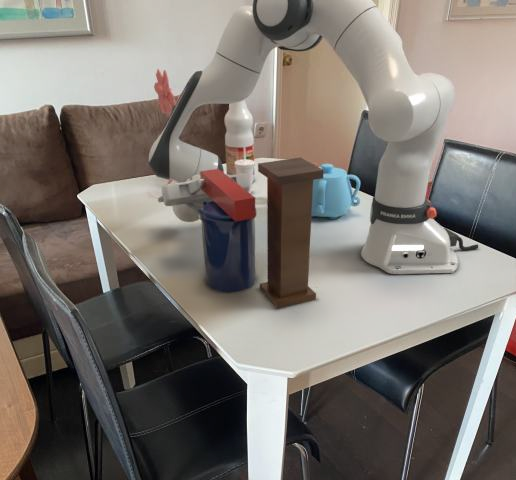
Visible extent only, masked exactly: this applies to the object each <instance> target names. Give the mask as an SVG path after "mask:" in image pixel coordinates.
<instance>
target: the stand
mask: <svg viewBox="0 0 516 480" xmlns="http://www.w3.org/2000/svg"><path fill="white" fill-rule="evenodd" d="M313 164H314V163H312V162H310V161H308V160H306V159H304V158H302V157H294V158H286V159H280V160H279V159H278V160H272V161H266V162H258V163H257V172H258V173H260V174H261V175H262V176H264V177H266V182H267V183H266V188H267V189H266V190H267V191H266V193H267V194H266V196H267V197H266V200H267V201H266V202H267V204H266V206H267V209H266V211H267V212H266V213H267V214H266V218H267V219H266V220H267V221H266V224H267V227H266V228H267V230H266V232H267V233H266V235H267V237H266V238H267V245H266V246H267V252H266V253H267V254H266V255H267V258H266V259H267V281H265V282H260V283H259V291H260V292H261V293H262V294H263V295H264V297H266V298H267V300H268V301H269V302H270V303H271V304H272V305H273V306H274V307H275V308H276V309H277V310H279V309H283V308H287V307H291V306H295V305H299V304H304V303H307V302H312V301H315V300H316V299H317V292H315V291H314V290H313V289H312V288H311V287H310V286H309V275H310V273H309V270H310V254H311V253H310V251H311V235H312V234H311V233H312V232H311V230H312V217H311V215H312V195H313V180H315V179H321V178H323V173H324V170H323V169H321V168H319V167H320V166H318V165H317V166H318V167H317V166H315V165H313Z"/></svg>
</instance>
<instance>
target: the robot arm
mask: <svg viewBox="0 0 516 480" xmlns="http://www.w3.org/2000/svg"><path fill="white" fill-rule="evenodd" d="M323 39H324V40H325V41H326V42H327V43H328V45H329V46H330V48H331V49H332V50H333V52H334V53H335V54H336V56H337V57H338V58H339V59H340V61H341V62H342V64H343V65H344V67H345V68H346V69H347V70H348V72H349V73H350V75H351V76H352V77H353V78H354V80H355V82H356V83H357V85H358V87H359V89H360V91H361V93H362V97H363V99H364V100H365V102H366V103H365V104H366V106H367V109H368V111H367V120H368V125H369V128H370V130H371V132H372V133H373V135H375V137H376V138H378V139H379V140H381V141H384V142H388V143H387V146H386V149H385V150H384V153H383V155H382V156H381V157H380V160H379V163H378V169H377V177H376V185H375V194H374V196H373V197H372V202H371V204H370V205H371V206H370V212H369V222H370V224H369V228H368V233H367V236H366V239H365V243H364V245H363V246H362V249H361V252H360V256H361V258H362V259H363V260H364V261H365V262H366V263H368V264H369V265H371V266H374V267H377V268H379V269H381V270H383V271H384V272H385V273H387V274H390V275H411V274H413V275H414V274H415V275H417V274H420V275H421V274H453V273H454V272H455V271H457V269H458V266H459V259H458V255H457V253H456V252H455V250H454V249H453V248H452V247H456V246H457V242H458V248H459V249H460V250H462V251H465V252H466V251H467V252H468V251H472V250H476V249H478V248H479V244H472V245H468V246H464V241H463V238H462V237H461V236H460V235H458V234H457V233H455V232H453V231H452V230H450V229H448V228H446V227H443V226H442V225H441V224H440V223H438V222H437V221H436V220H435V218H436V217H437V215H438V214H437V213H438V212H437V210H436V208H435V207H434V205H433V203H431V201H430V199H426V197H427V191H428V185H429V181H430V176H431V170H432V166H433V162H434V159H435V156H436V154H437V150H438V148H439V146H440V143H441V140H442V137H443V134H444V130H445V127H446V124H447V120H448V119H449V116H450V114H451V112H452V110H453V108H454V106H455V102H456V90H455V86H454V84H453V82H452V81H451V80H450V79H449V78H448V77H447V76H445V75H442V74H439V73H435V72H423V73H420V74H416V73H415V71H414V70H413V69H412V67H411V66H410V64H409V61H408V59H407V57H406V54H405V51H404V49H403V48H404V47H403V46H404V45H403V40H402V38H401V36H400V35H399V34H398V32H397V31H396V30H395V28H394V27H393V25H392V24H391V23H390V21H389V20H388V18H386V16H385V15H384V13H383V12H382V11H381V9H380V8H379V7H378V6H377V4H376V3H375V1H373V0H253V1H252V5H241V6H239V7H237V8H236V9H234V11H233V13H231V16H230V18H229V20H228V22H227V24H226V26H225V28H224V30H223V32H222V34H221V38H220V40H219V42H218V45H217V47H216V50H215V53H214V55H213V58H212V59H211V61H210V63H209V64H208V65H207V66H206V67H205V68H204V69H203V70H197V71H195V72H194V73H193V74H192V75H191V77H189V79H188V81H187V82H186V84H185V86H184V88H183V90H182V91H183V92H181V93H180V94H181V95H180V94H179V95H180V97H179V96H178V97H179V99H178V98H177V99H178V101H177V100H176V102H177V103H176V105H174V106H173V108H172V111H171V115H170V116H168V118H167V121H166V122H165V124H164V126H163V129H162V130H161V132H160V133H159V135H158V137H157V138H156V139H155V141H154V142H153V144H152V145H151V148H150V150H149V154H148V162H147V163H148V166H149V168H150V170H151V171H152V173H153V174H154V175H155V177H157V178H160V179H165V180H167V181H168V180H169V179H170V180H173V181H172V182H175V183H170V184H168V185H167V184H165V185H163V186H162V187H161V196H159V197H157V198H158V199H157V202H158V203H163V204H164V206H166V207H171V208H172V212H173V214H174V215H175V217H176V218H178V219H179V220H180V221H181V222H185V223H194V222H197V221H200V218H199V210H200V208H202V207H203V206H204V205H205V204H207V203H208V202H211V201H213V200H212V199H211V198H210V197H209V196H208V195H207V194H206V193H205V192H203V191H202V190H201V189H204V188H205V187H206V185H205V180H204V179H201V177H200V171H206V170H213V169H219V170H221V171H222V172H223V173H224V174H225V172H224V171H225V170H224V166H223V163H222V160H221V158H220V157H219V155H218V154H215V153H213V152H211V151H209V150H206V149H203V148H200V147H197V146H194V145H192V144H189V143H187V142H185V141H182V140H181V139H180V136H181V134H182V132H183V131H184V128H185V127H186V125H187V123H188V121H189V120H190V118H191V116H192V114H193V112H194V111H195V110H196V109H197V108H199V107H201V106H204V105H209V104H210V105H212V104H213V105H214V104H216V105H218V104H219V105H230V104H231V103H237V102H240V101H242V100H244V99H245V100H246V99H247V98H249V97H250V96H251V95H252V93H253V91H254V90H255V87H256V85H257V83H258V81H259V79H260V76H261V73H262V72H263V71H262V70H263V68H264V65H265V63H266V60H267V59H268V56H269V55H270V53H271V52H272V51H273V50H274V49H276V48H278V49H279V50H281V51H291V52H307V51H309V50H310V51H311V50H312V49H315V47H317V46H318V45H319V44H320V43H321V42H322V40H323ZM189 117H190V118H189ZM226 175H227V174H226ZM227 176H228V177H230V178H231V179H232V180H233V181H235V182H236V183H237V184H238V185H240V186H241V187H242V188H244V189H245V190H246V191H247V192H248V191H249V190H250V181H249V177H248V175H247V174H246V173H242V174H236V175H227Z"/></svg>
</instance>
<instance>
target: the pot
mask: <svg viewBox="0 0 516 480" xmlns="http://www.w3.org/2000/svg"><path fill="white" fill-rule="evenodd" d="M256 217H257V208H256V207H255V218H252V219H246V220H241V221H234V220H233V219H232V218H231V217H230V216H229V215H228V214H227V213H226V212H225V211H224V210H223V209H222V208H220V207H219V206H218V205H217V204H216V203H215V202H214V201H211V202H208V203H207V204H205V205H204V206H203V207H202V208H200V210H199V218H200V219H199V221H201V222H200V223H201V235H202V246H203V247H202V248H203V257H204V258H203V259H204V270H205V282H206V285H207V286H208V287H209V288H211V289H213V290H214V291H218V292H223V293H237V292H241V291H244V290H248V289H249V288H252V286H254V285H255V283H256V281H257V277H256V275H257V272H256V270H257V269H256Z"/></svg>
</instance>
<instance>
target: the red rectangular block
mask: <svg viewBox="0 0 516 480" xmlns="http://www.w3.org/2000/svg"><path fill="white" fill-rule="evenodd" d="M200 177H201V179H204V180H205V185H206V187H205V188H204V189H201V190H202V191H203V192H205V193H206V194H207V195H208V196H209V197H210V198H211V199H212V200H213V201H214V202H215V203H216V204H217V205H218V206H219V207H220V208H222V209H223V210H224V211H225V212H226V213H227V214H228V215H229V216H230V217H231V218H232V219H233V220H234V221H241V220H246V219H252V218H255V219H256V217H255V208H256V197H255V196H254V195H253V194H252V193H251V194H250V193H249V192H247V191H246V190H245V189H244V188H242V187H241V186H240V185H238V184H237V183H236V182H235V181H233V180H232V179H231V178H230V177H228V176H227V173H225V172H224V173H223V172H222V171H221V170H219V169H213V170H206V171H200Z"/></svg>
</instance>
